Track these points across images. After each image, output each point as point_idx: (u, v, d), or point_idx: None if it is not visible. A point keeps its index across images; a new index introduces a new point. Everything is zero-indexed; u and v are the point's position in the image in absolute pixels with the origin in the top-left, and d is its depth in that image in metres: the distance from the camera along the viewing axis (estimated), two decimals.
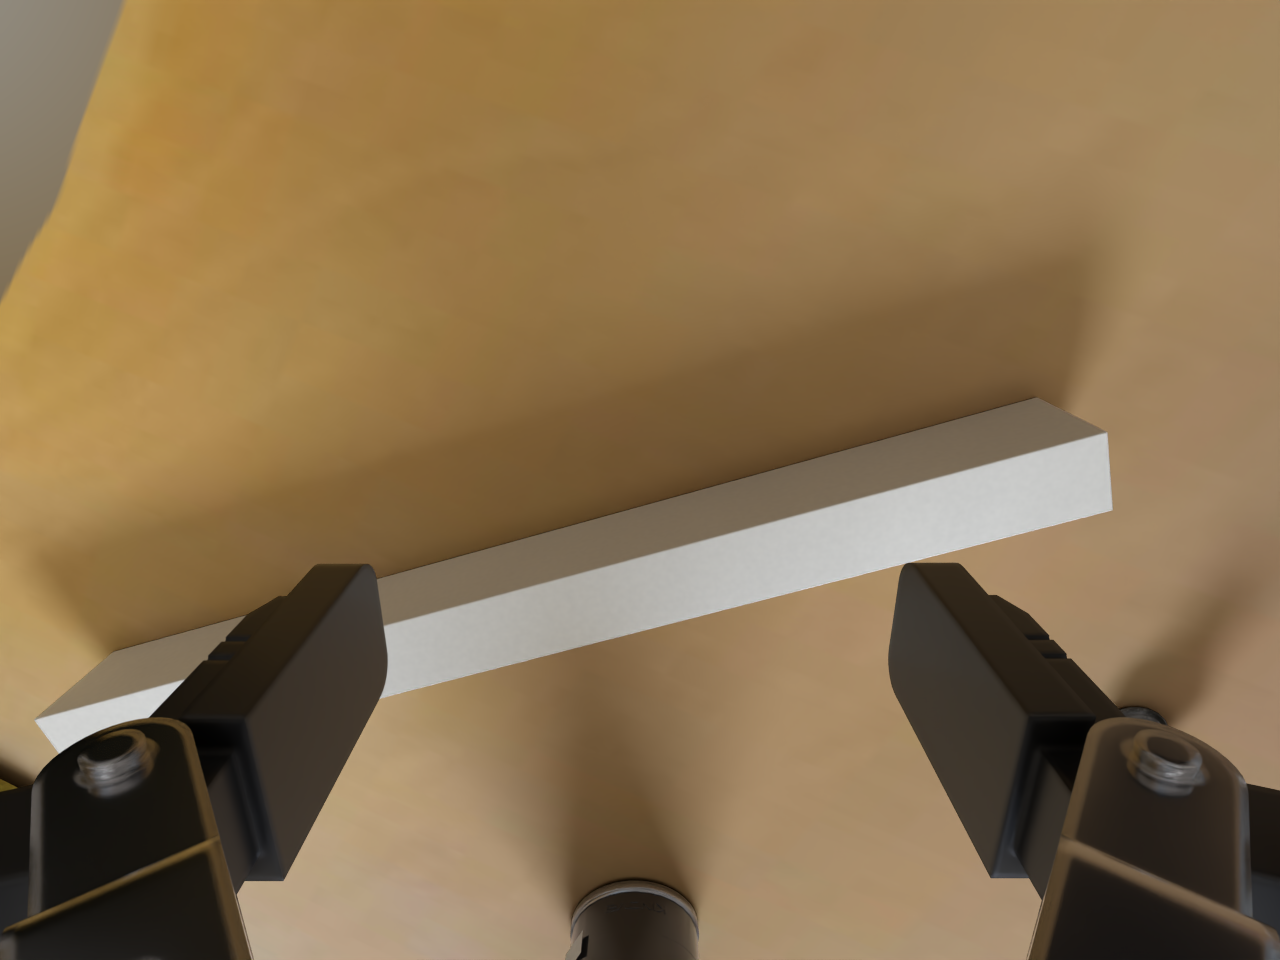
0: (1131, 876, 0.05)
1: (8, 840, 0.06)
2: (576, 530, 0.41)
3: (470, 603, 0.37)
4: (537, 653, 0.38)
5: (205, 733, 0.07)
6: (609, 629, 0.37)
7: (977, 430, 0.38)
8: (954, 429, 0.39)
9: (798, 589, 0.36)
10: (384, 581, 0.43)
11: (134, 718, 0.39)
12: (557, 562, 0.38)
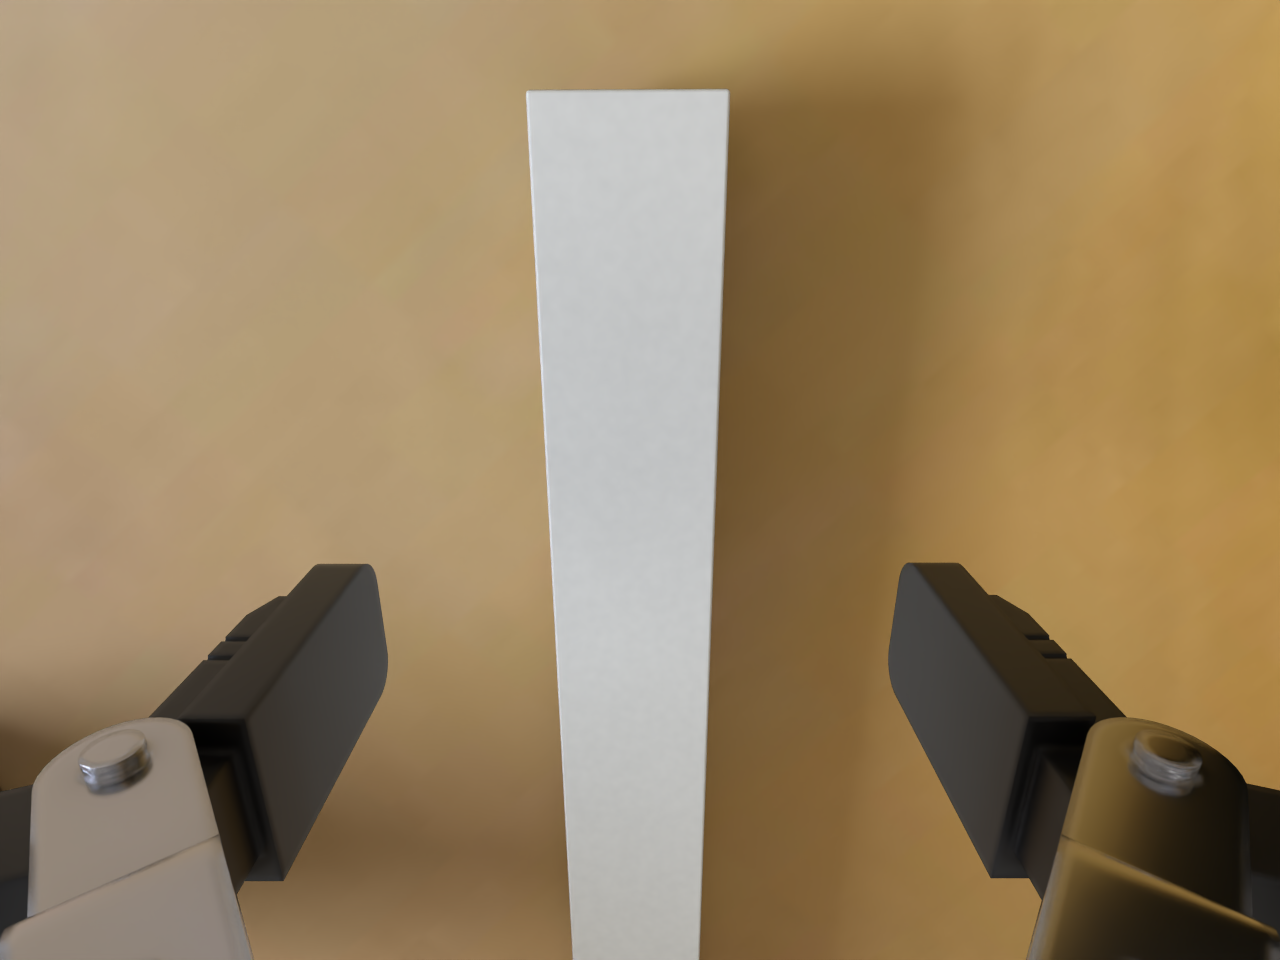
0: (1131, 876, 0.05)
1: (8, 840, 0.06)
2: None
3: None
4: None
5: (205, 733, 0.07)
6: None
7: None
8: None
9: None
10: None
11: (654, 350, 0.16)
12: None
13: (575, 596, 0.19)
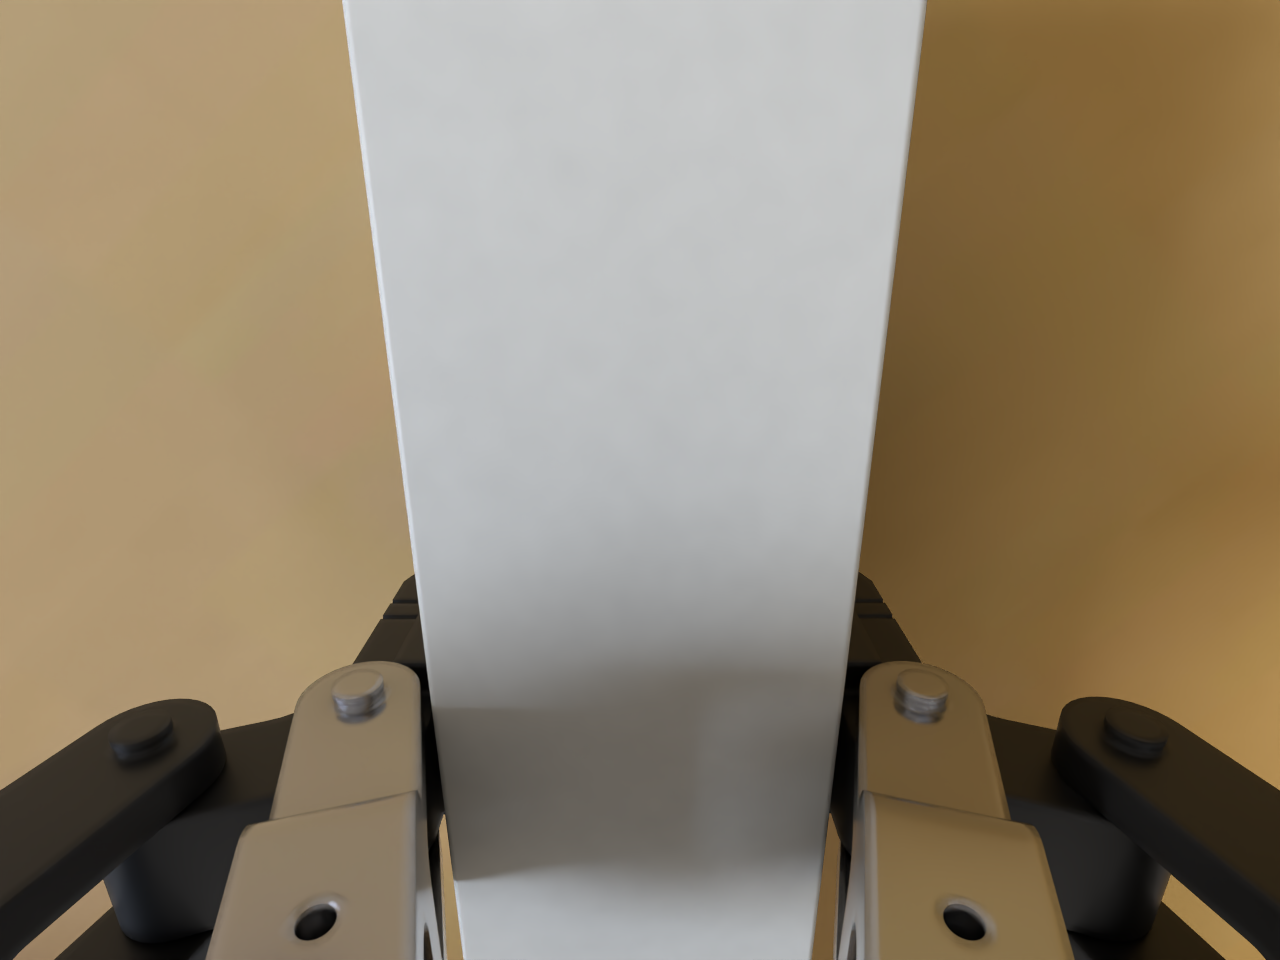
0: (926, 813, 0.05)
1: (271, 763, 0.07)
2: None
3: None
4: None
5: None
6: None
7: None
8: None
9: None
10: None
11: (697, 578, 0.07)
12: None
13: None
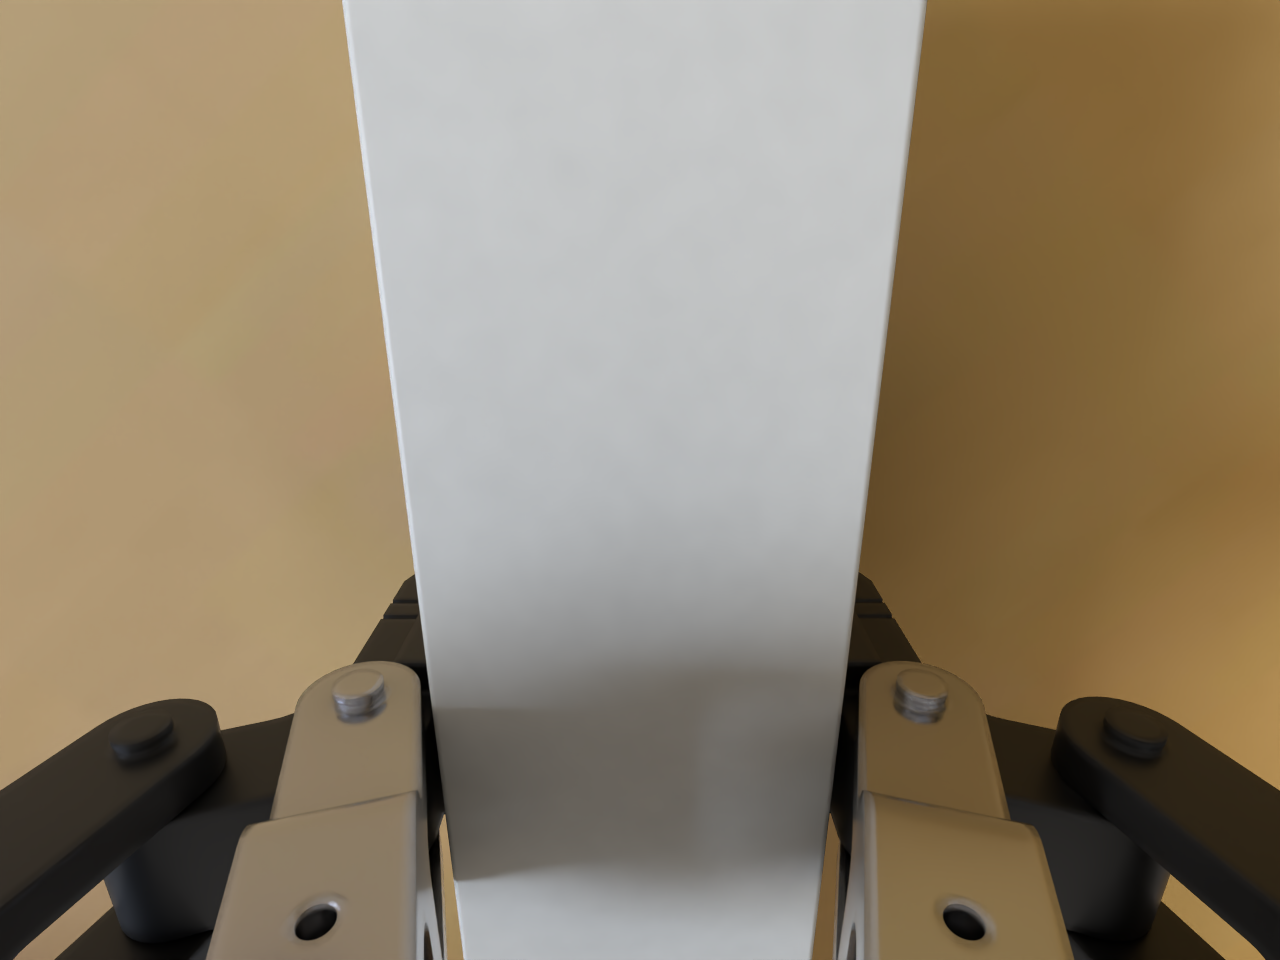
0: (925, 813, 0.05)
1: (272, 762, 0.07)
2: None
3: None
4: None
5: (416, 676, 0.08)
6: None
7: None
8: None
9: None
10: None
11: (697, 579, 0.07)
12: None
13: None
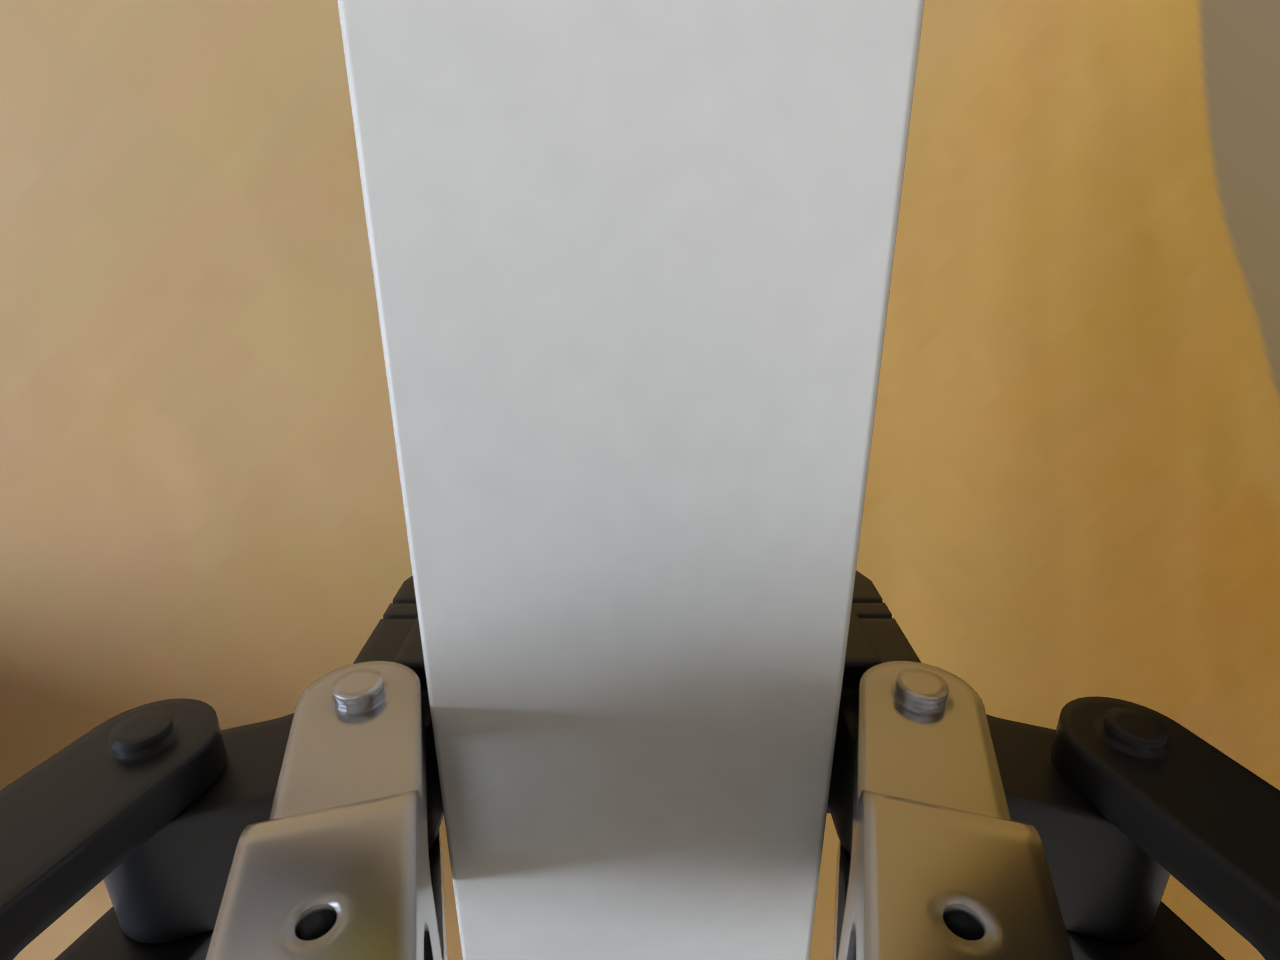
0: (925, 813, 0.05)
1: (272, 762, 0.07)
2: None
3: None
4: None
5: (416, 676, 0.08)
6: None
7: None
8: None
9: None
10: None
11: (694, 577, 0.07)
12: None
13: None
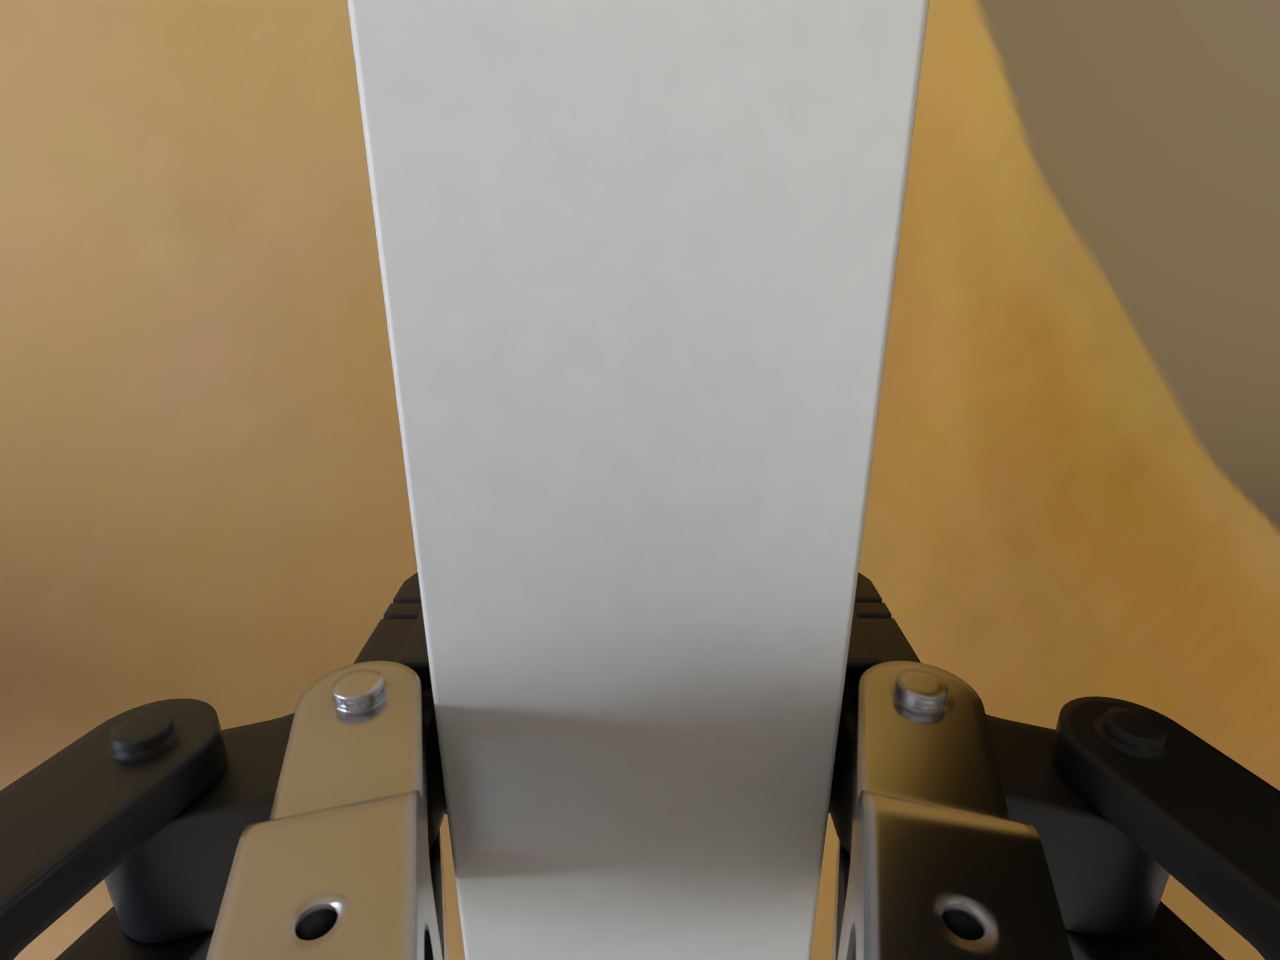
0: (924, 814, 0.05)
1: (272, 762, 0.07)
2: None
3: None
4: None
5: None
6: None
7: None
8: None
9: None
10: None
11: (697, 571, 0.07)
12: None
13: None
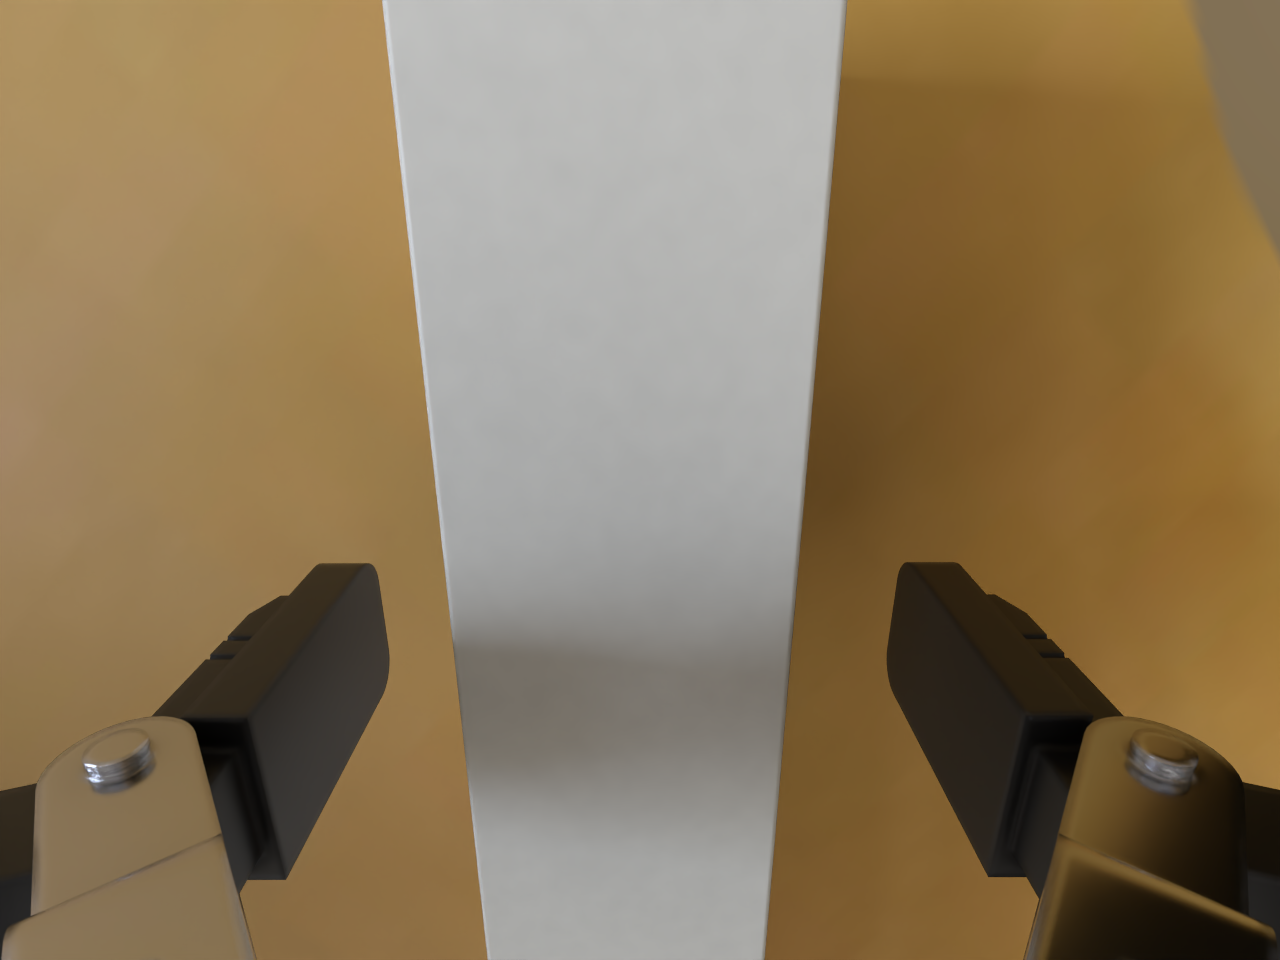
0: (1128, 875, 0.05)
1: (12, 838, 0.06)
2: None
3: None
4: None
5: (208, 732, 0.07)
6: None
7: None
8: None
9: None
10: None
11: (669, 510, 0.08)
12: None
13: (522, 917, 0.10)
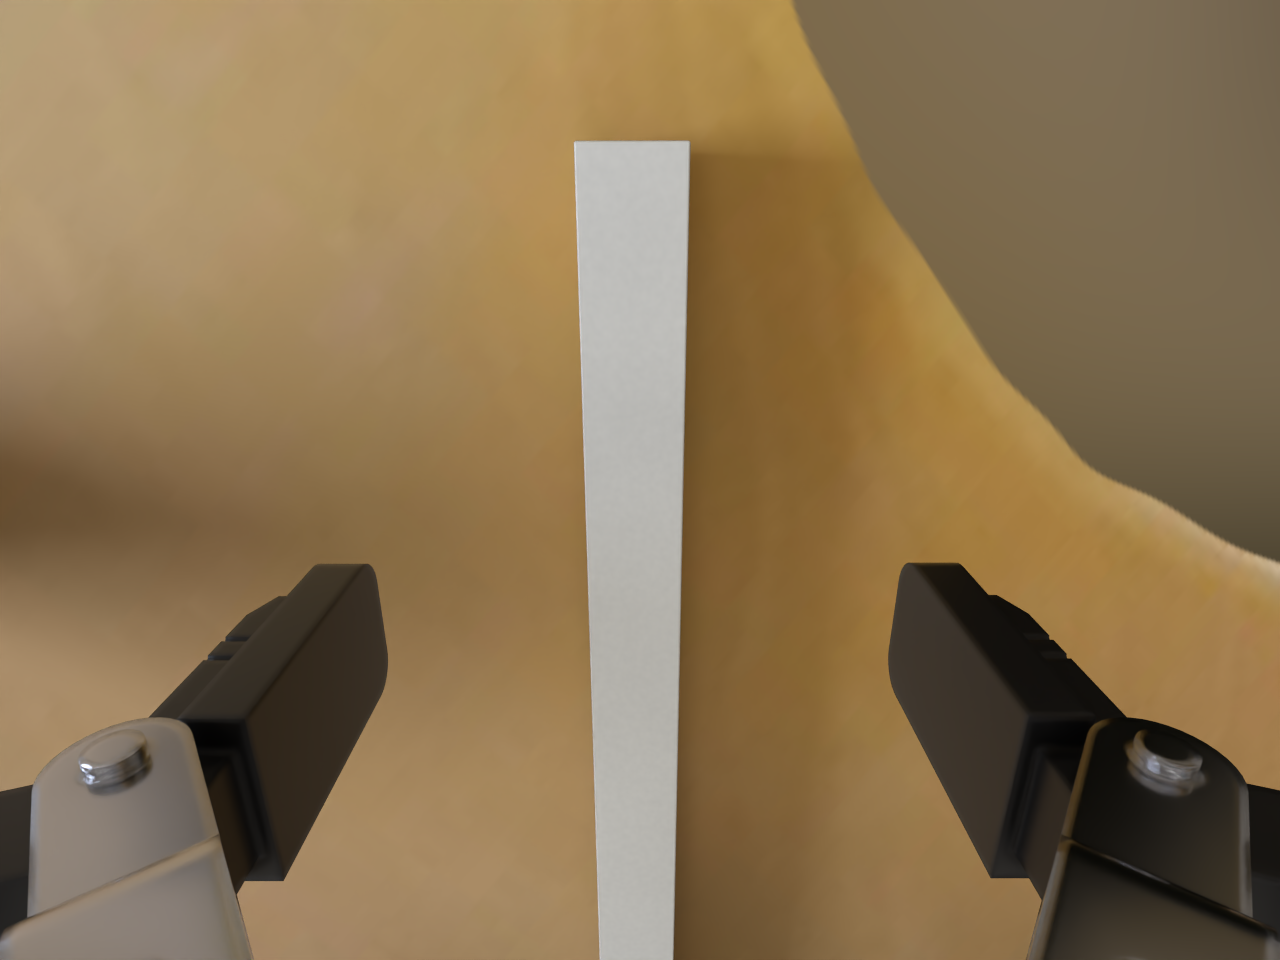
0: (1131, 876, 0.05)
1: (8, 840, 0.06)
2: None
3: (677, 723, 0.35)
4: (599, 760, 0.36)
5: (205, 733, 0.07)
6: (606, 823, 0.37)
7: None
8: None
9: (601, 956, 0.41)
10: None
11: (647, 293, 0.28)
12: None
13: (598, 451, 0.30)
